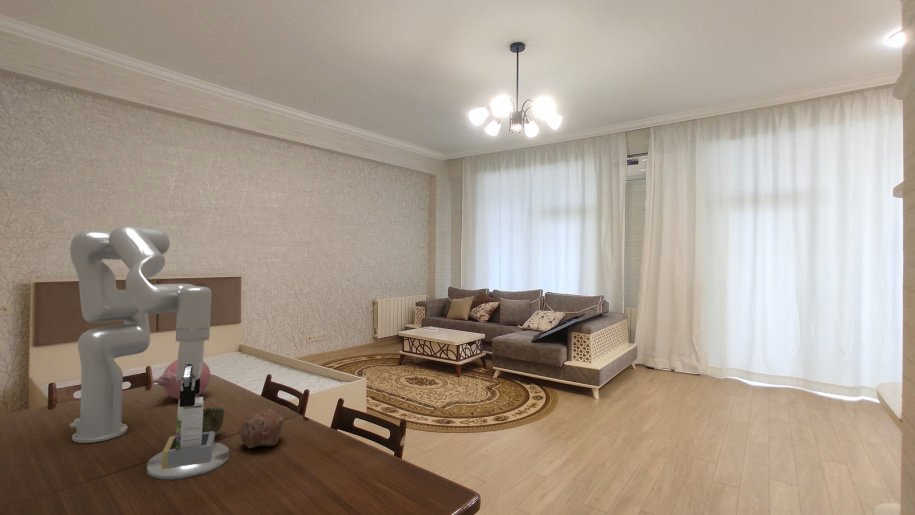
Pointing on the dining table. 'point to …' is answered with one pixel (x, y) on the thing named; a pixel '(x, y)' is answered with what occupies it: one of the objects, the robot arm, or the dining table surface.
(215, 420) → the dark green lumpy clump
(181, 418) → the syrup box
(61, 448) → the dining table surface
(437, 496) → the dining table surface
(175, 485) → the dining table surface
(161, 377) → the inflated balloon
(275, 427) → the decorative rock
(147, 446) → the dining table surface
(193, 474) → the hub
